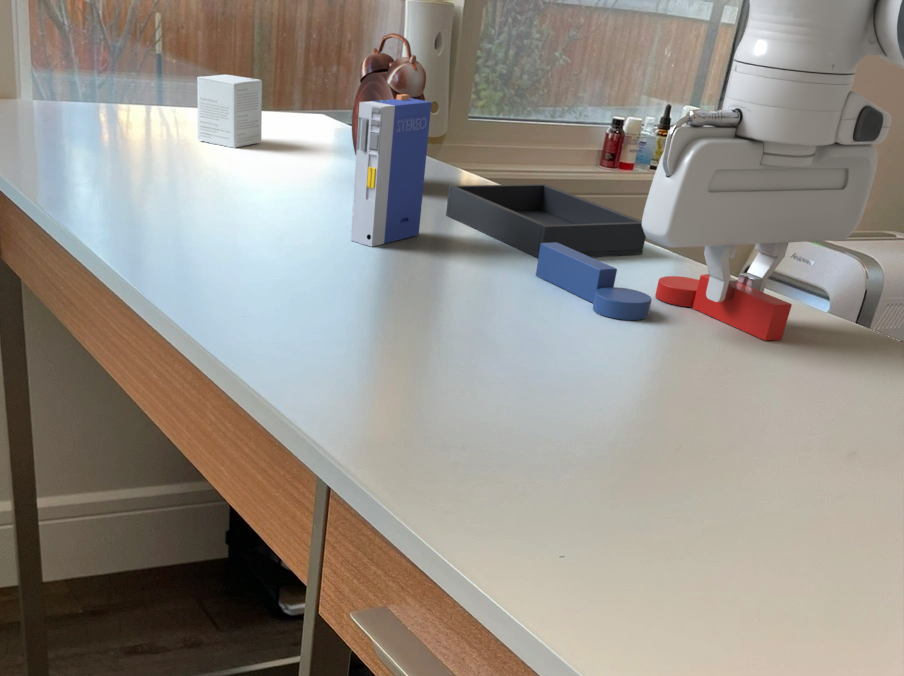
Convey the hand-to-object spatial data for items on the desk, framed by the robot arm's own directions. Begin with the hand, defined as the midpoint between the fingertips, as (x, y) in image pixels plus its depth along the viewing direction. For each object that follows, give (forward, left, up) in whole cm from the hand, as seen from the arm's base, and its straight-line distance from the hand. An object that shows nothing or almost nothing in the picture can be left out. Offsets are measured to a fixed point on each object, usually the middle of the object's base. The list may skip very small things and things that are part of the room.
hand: (733, 299), depth 92 cm
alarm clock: (+22, -50, -2) cm, 55 cm away
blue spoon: (+11, -5, -2) cm, 12 cm away
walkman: (+26, -23, -2) cm, 35 cm away
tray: (+9, -28, -2) cm, 30 cm away
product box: (+39, -72, -2) cm, 82 cm away
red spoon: (+1, -1, -2) cm, 2 cm away
